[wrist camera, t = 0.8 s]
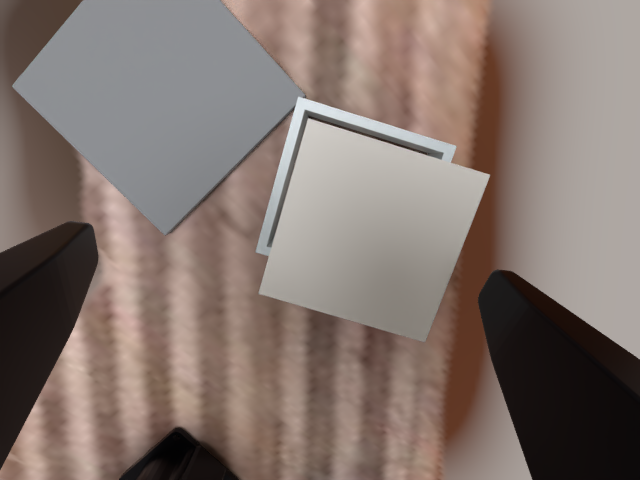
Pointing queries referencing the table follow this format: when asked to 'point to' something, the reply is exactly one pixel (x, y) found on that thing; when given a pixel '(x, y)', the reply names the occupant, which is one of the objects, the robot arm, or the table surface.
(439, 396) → the table surface
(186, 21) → the mat
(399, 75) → the table surface
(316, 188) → the tall block
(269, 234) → the sleeve
